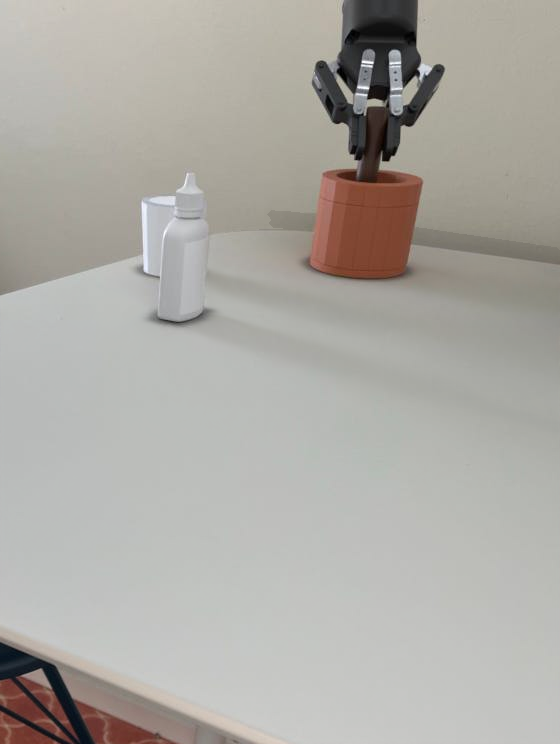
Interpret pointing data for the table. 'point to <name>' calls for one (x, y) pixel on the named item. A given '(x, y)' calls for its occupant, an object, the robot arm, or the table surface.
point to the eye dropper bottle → (184, 257)
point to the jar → (365, 224)
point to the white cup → (157, 228)
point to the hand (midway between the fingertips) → (373, 155)
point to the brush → (372, 144)
